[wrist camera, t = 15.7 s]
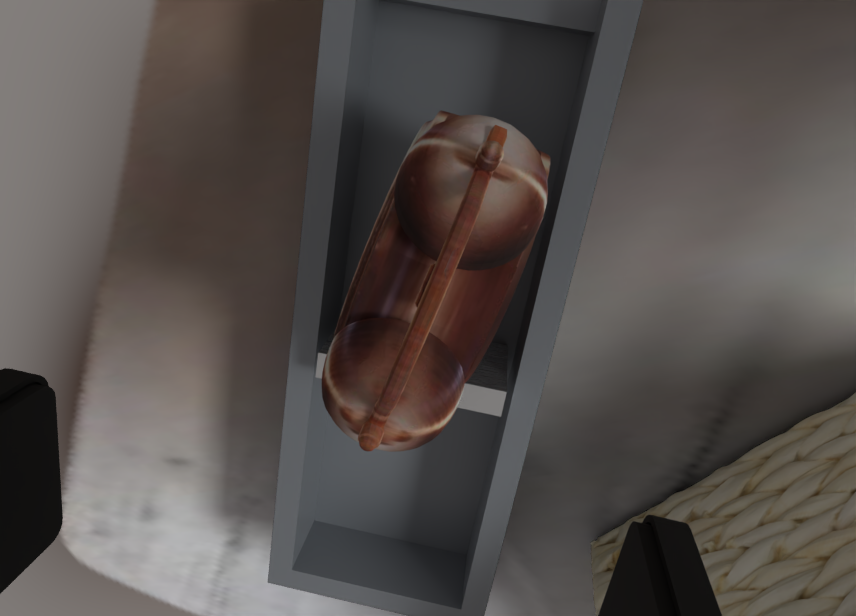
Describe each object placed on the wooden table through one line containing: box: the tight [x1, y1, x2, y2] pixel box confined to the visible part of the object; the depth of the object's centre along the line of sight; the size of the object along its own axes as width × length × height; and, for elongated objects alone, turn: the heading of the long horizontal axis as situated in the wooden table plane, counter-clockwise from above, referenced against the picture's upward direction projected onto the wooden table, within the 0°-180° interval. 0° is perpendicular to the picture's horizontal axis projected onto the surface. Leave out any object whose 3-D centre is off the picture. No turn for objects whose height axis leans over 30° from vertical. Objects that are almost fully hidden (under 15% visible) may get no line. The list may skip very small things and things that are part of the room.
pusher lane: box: [268, 0, 643, 616], centre depth 30 cm, size 12×30×5 cm, turn 170°
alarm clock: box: [322, 110, 550, 452], centre depth 22 cm, size 11×5×15 cm, turn 158°
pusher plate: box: [315, 329, 508, 417], centre depth 29 cm, size 8×1×5 cm, turn 80°
